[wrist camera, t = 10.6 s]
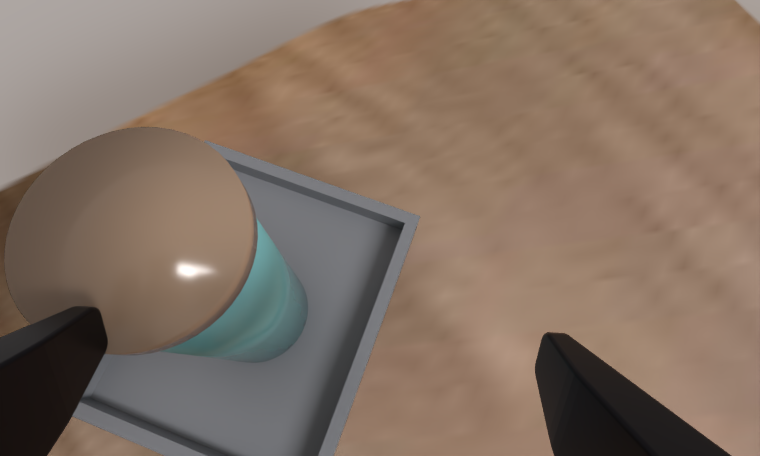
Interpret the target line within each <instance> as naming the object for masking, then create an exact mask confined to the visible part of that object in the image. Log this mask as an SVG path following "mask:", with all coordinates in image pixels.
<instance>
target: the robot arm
mask: <svg viewBox="0 0 760 456" xmlns="http://www.w3.org/2000/svg"><path fill="white" fill-rule="evenodd" d="M107 346H108V337H107V334H106V330H105V326H104V322H103V318H102V315H101V312H100V310H99V309H98V308H96V307H93V306H74V307H71V308H69V309H66V310H64V311H62V312H59V313H57V314H54V315H52V316H50V317H47V318H45V319H43V320H40V321H38V322H36V323H33V324H31V325H29V326H26V327H24V328H22V329H19V330H17V331H15V332H12V333H10V334H8V335H5V336H3V337H0V456H47V455H48V454H49V452H50V451H51V449H52V447H53V446H54V444H55V443H56V441H57V440H58V438H59V437H60V435H61V434H62V432H63V430H64V429H65V427H66V426H67V424H68V422H69V421H70V419H71V417H72V415H73V414H74V412H75V410H76V408H77V406H78V404H79V402H80V401H81V399H82V397H83V395H84V393H85V391H86V389H87V387H88V385H89V383H90V381H91V379H92V377H93V375H94V374H95V372H96V370H97V368H98V366H99V364H100V362H101V360H102V358H103V356H104V354H105V352H106V350H107ZM535 375H536V380H537V384H538V389H539V394H540V398H541V403H542V407H543V412H544V416H545V421H546V426H547V430H548V435H549V439H550V443H551V447H552V450H553V453H554V456H731V455H730V454H728V453H727V452H726V451H724V450H723V449H722V448H720V447H719V446H718V445H716V444H715V443H714V442H712V441H711V440H709V439H708V438H707V437H705V436H704V435H703V434H701V433H700V432H699V431H697V430H696V429H695V428H693V427H692V426H691V425H689V424H688V423H686V422H685V421H684V420H682V419H681V418H680V417H678V416H677V415H676V414H674V413H673V412H672V411H670V410H669V409H668V408H666V407H665V406H664V405H662V404H661V403H659V402H658V401H657V400H655V399H654V398H653V397H651V396H650V395H649V394H647V393H646V392H645V391H643V390H642V389H641V388H639V387H638V386H636V385H635V384H634V383H632V382H631V381H630V380H628V379H627V378H626V377H624V376H623V375H622V374H620V373H619V372H618V371H616V370H615V369H613V368H612V367H611V366H609V365H608V364H607V363H605V362H604V361H603V360H601V359H600V358H599V357H597V356H596V355H595V354H593V353H592V352H590V351H589V350H588V349H586V348H585V347H584V346H582V345H581V344H580V343H578V342H577V341H576V340H574V339H573V338H572V337H570V336H569V335H567V334H565V333H553V332H547V333H545V334H544V335H543V337H542V340H541V344H540V348H539V352H538V356H537V360H536V364H535Z"/></svg>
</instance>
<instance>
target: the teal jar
mask: <svg viewBox="0 0 760 456" xmlns="http://www.w3.org/2000/svg"><path fill="white" fill-rule="evenodd" d="M4 267H5V274H6V281H7V284H8V287H9V290H10V293H11V296H12V298H13V300H14V302H15V304H16V306H17V308H18V309H19V311H20V312H21V313H22V315H23V316H24V317H25V319H26V320H27V321H28V322H29V323H30V324H33V323H36V322H38V321H40V320H43V319H45V318H47V317H50V316H52V315H54V314H57V313H59V312H62V311H64V310H66V309H69V308H71V307H74V306H93V307H96V308H98V309H99V310H100V312H101V315H102V318H103V322H104V326H105V330H106V334H107V337H108V346H107V350H106V352H105V354H110V355H143V354H151V353H155V352H159V351H161V352H169V353H177V354H184V355H192V356H200V357H208V358H215V359H223V360H231V361H238V362H246V363H259V362H265V361H269V360H271V359H274V358H276V357H278V356H280V355H282V354H283V353H284V352H286V351H287V350H288V349H289V348H290V347H292V346H293V345H294V343H295V342H296V341H297V340H298V338H299V337H300V335H301V333H302V331H303V329H304V327H305V324H306V321H307V316H308V300H307V295H306V292H305V289H304V287H303V285H302V283H301V282H300V280H299V279H298V277H297V276H296V274H295V273H294V271H293V270H292V269H291V267H290V266H289V264H288V263H287V261H286V260H285V258H284V257H283V256H282V254H281V253H280V251H279V250H278V248H277V247H276V245H275V244H274V243H273V241H272V240H271V238H270V237H269V235H268V234H267V232H266V231H265V230H264V228H263V227H262V225H261V224H260V222H259V221H258V219H257V218H256V213H255V209H254V206H253V203H252V200H251V198H250V196H249V194H248V192H247V190H246V188H245V187H244V185H243V184H242V182H241V180H240V179H239V177H238V176H237V174H236V173H235V171H234V170H233V168H232V167H231V166H230V164H229V163H228V162H227V161H226V160H225V159H224V158H223V156H222V155H221V154H220V153H219V152H217V151H216V150H215V149H213V148H212V147H211V146H210V145H208V144H206V143H205V142H203V141H201V140H199V139H198V138H196V137H193V136H191V135H188V134H186V133H183V132H179V131H175V130H172V129H165V128H158V127H137V128H127V129H122V130H117V131H112V132H109V133H106V134H103V135H100V136H97V137H95V138H92V139H90V140H88V141H85V142H83V143H81V144H80V145H78V146H76V147H74V148H72V149H71V150H69V151H68V152H66V153H65V154H63V155H62V156H61V157H59V158H58V159H56V160H55V161H54V162H53V163H52V164H51V165H50V166H48V167H47V168H46V169H45V170H44V171H43V172H42V173H41V174H40V175H39V176H38V178H37V179H36V180H35V181H34V182H33V183H32V185H31V186H30V187H29V189H28V190H27V191H26V193H25V194H24V196H23V198H22V199H21V201H20V203H19V205H18V206H17V208H16V211H15V213H14V215H13V218H12V220H11V223H10V226H9V230H8V233H7V237H6V244H5V251H4Z"/></svg>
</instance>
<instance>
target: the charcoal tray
mask: <svg viewBox="0 0 760 456" xmlns="http://www.w3.org/2000/svg"><path fill="white" fill-rule="evenodd" d="M205 143H206V144H208V145H210V146H211V147H212V148H213V149H215V150H216V151H217V152H219V153H220V154H221V155H222V156H223V158H224V159H225V160H226V161H227V162H228V163H229V164H230V166H231V167H232V168H233V170H234V171H235V173H236V174H237V176H238V177H239V179H240V180H241V182H242V184H243V185H244V187H245V188H246V190H247V192H248V194H249V196H250V198H251V200H252V203H253V206H254V209H255V213H256V218H257V219H258V221H259V222H260V224H261V225H262V227H263V228H264V230H265V231H266V232H267V234H268V235H269V237H270V238H271V240H272V241H273V243H274V244H275V245H276V247H277V248H278V250H279V251H280V253H281V254H282V256H283V257H284V258H285V260H286V261H287V263H288V264H289V266H290V267H291V269H292V270H293V271H294V273H295V274H296V276H297V277H298V279H299V280H300V282H301V283H302V285H303V287H304V289H305V292H306V295H307V300H308V316H307V321H306V324H305V327H304V329H303V331H302V333H301V335H300V337H299V338H298V340H297V341H296V342H295V343H294V345H293V346H292V347H290V348H289V349H288V350H287V351H286V352H284V353H283V354H282V355H280V356H278V357H276V358H274V359H271V360H269V361H265V362H259V363H246V362H238V361H231V360H223V359H215V358H208V357H200V356H192V355H184V354H177V353H169V352H161V351H159V352H155V353H151V354H143V355H110V354H104V356H103V358H102V360H101V362H100V364H99V366H98V368H97V370H96V372H95V374H94V375H93V377H92V379H91V381H90V383H89V385H88V387H87V389H86V391H85V393H84V395H83V397H82V399H81V401H80V402H79V404H78V406H77V408H76V410H75V412H74V414H73V415H72V416H73V417H75V418H78V419H80V420H82V421H85V422H87V423H89V424H92V425H94V426H96V427H99V428H101V429H103V430H106V431H108V432H111V433H113V434H115V435H118V436H120V437H122V438H125V439H127V440H129V441H132V442H134V443H136V444H139V445H141V446H143V447H146V448H148V449H151V450H153V451H155V452H158V453H160V454H162V455H165V456H334V454H335V451H336V448H337V445H338V443H339V440H340V437H341V434H342V432H343V429H344V426H345V423H346V421H347V418H348V415H349V412H350V410H351V407H352V404H353V401H354V398H355V396H356V393H357V390H358V387H359V385H360V382H361V379H362V376H363V374H364V371H365V368H366V365H367V363H368V360H369V357H370V354H371V352H372V349H373V346H374V343H375V341H376V338H377V335H378V332H379V330H380V327H381V324H382V321H383V319H384V316H385V313H386V310H387V308H388V305H389V302H390V299H391V297H392V294H393V291H394V288H395V286H396V283H397V280H398V277H399V275H400V272H401V269H402V266H403V263H404V261H405V258H406V255H407V252H408V250H409V247H410V244H411V241H412V239H413V236H414V233H415V230H416V228H417V225H418V222H419V218H420V216H418V215H415V214H412V213H409V212H406V211H404V210H401V209H398V208H395V207H392V206H389V205H387V204H384V203H381V202H378V201H375V200H373V199H370V198H367V197H364V196H361V195H358V194H356V193H353V192H350V191H347V190H344V189H341V188H339V187H336V186H333V185H330V184H327V183H324V182H322V181H319V180H316V179H313V178H310V177H308V176H305V175H302V174H299V173H296V172H293V171H291V170H288V169H285V168H282V167H279V166H276V165H274V164H271V163H268V162H265V161H262V160H259V159H257V158H254V157H251V156H248V155H245V154H242V153H240V152H237V151H234V150H231V149H228V148H226V147H223V146H220V145H217V144H214V143H211V142H209V141H206V140H205Z"/></svg>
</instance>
